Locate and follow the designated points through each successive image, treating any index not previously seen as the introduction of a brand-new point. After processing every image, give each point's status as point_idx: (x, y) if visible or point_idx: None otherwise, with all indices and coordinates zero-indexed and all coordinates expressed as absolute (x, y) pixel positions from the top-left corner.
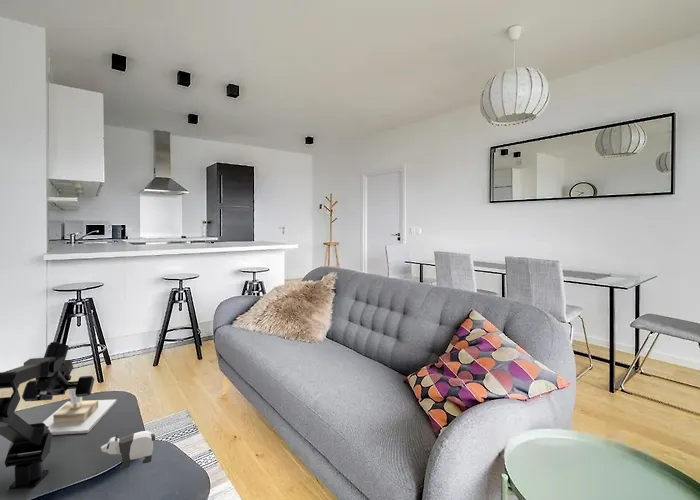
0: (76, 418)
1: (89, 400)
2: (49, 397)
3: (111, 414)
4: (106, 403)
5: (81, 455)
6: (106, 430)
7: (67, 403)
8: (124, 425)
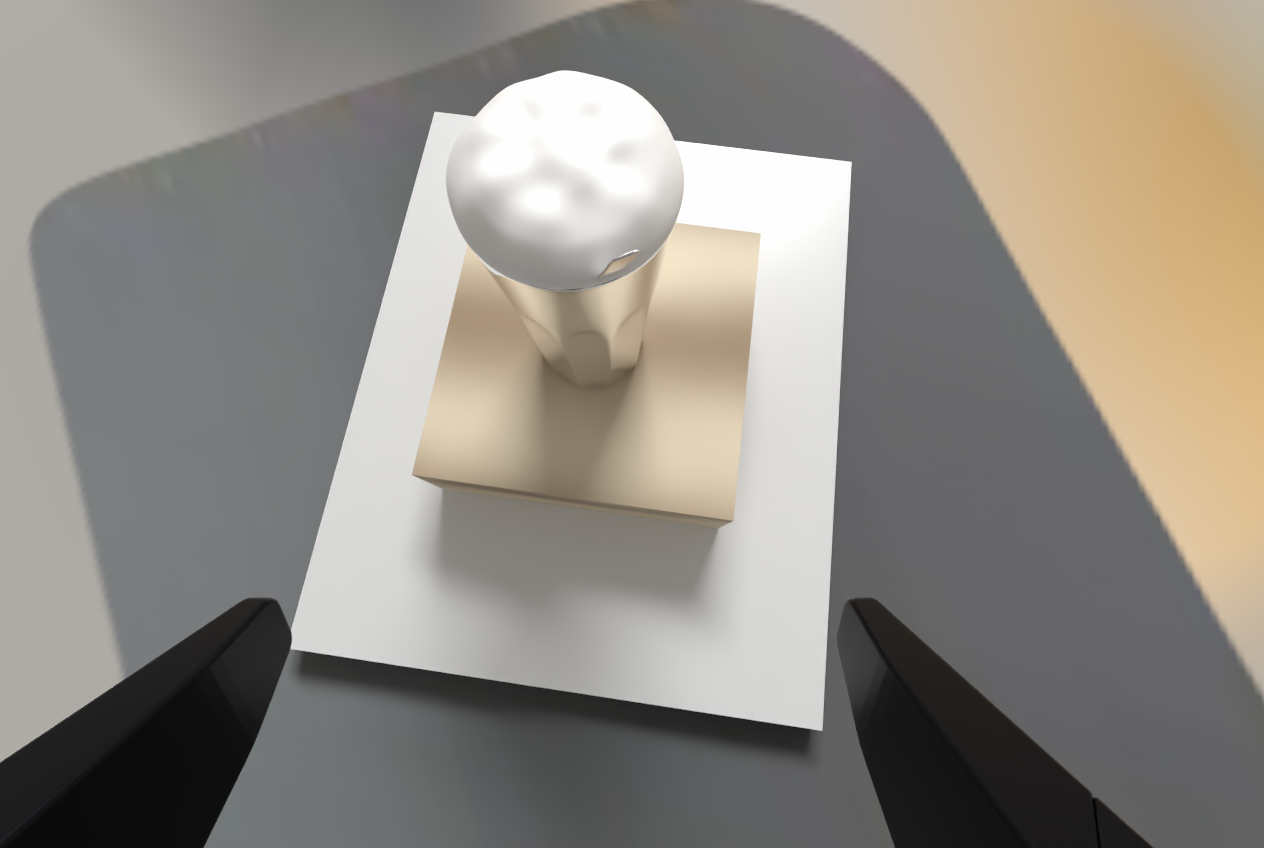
0: (648, 515)
1: None
2: (202, 775)
3: (892, 401)
4: (791, 219)
5: None
6: None
7: None
8: (1112, 656)
